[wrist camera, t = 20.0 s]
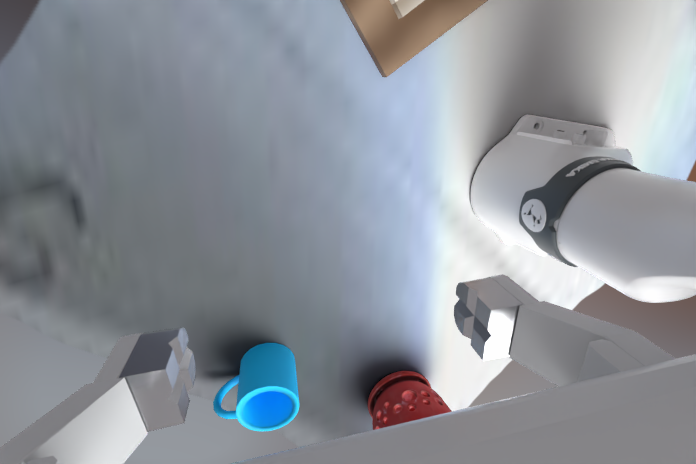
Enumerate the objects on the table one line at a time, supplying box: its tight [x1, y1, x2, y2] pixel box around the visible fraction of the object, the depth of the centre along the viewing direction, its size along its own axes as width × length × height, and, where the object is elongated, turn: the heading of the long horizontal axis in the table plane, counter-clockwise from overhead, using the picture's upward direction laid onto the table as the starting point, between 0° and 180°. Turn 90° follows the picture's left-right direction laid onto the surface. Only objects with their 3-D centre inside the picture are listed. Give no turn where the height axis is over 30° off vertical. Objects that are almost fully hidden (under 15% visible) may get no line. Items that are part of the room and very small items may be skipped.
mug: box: [213, 343, 299, 431], centre depth 48 cm, size 12×8×8 cm
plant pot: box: [368, 371, 452, 430], centre depth 55 cm, size 13×13×12 cm
